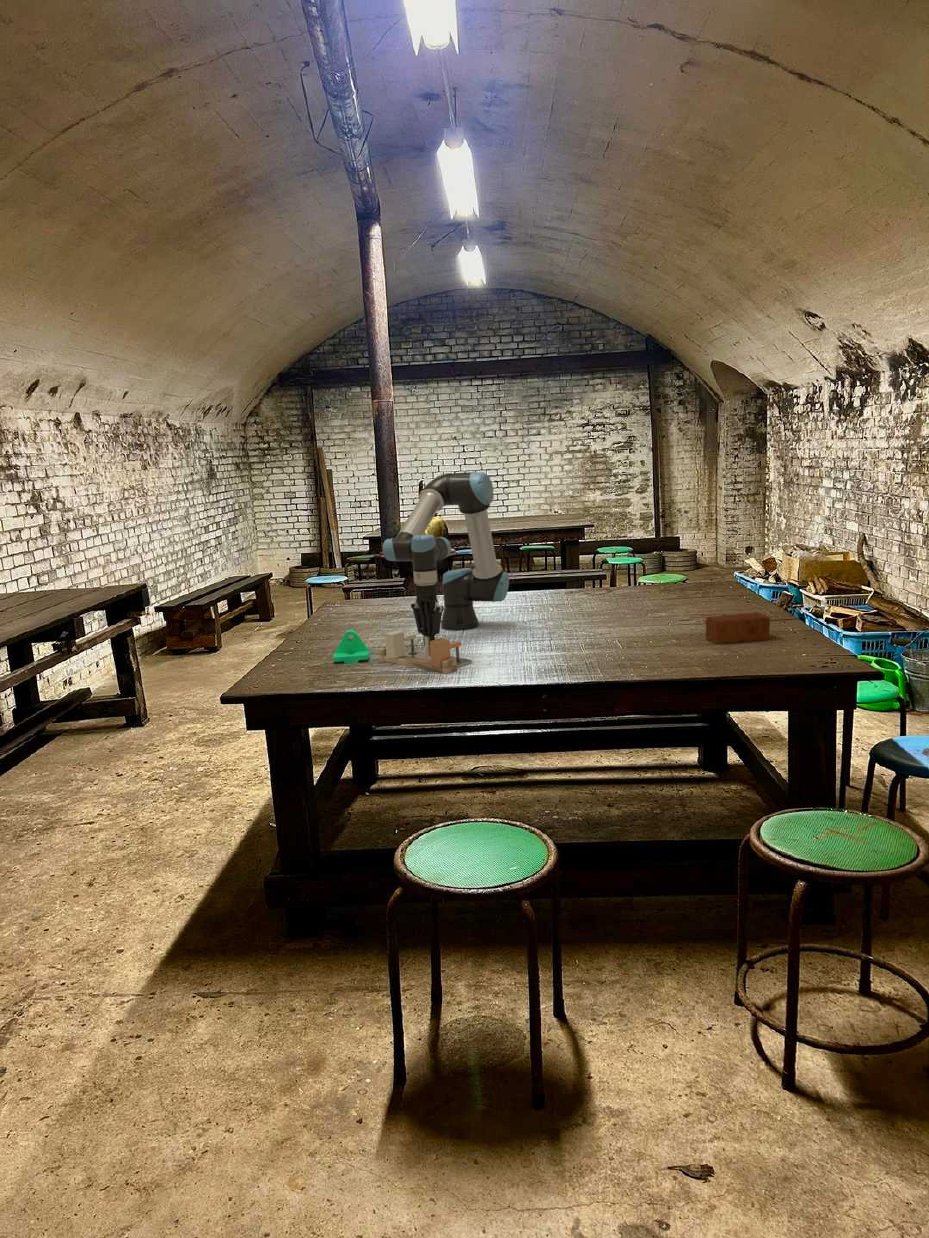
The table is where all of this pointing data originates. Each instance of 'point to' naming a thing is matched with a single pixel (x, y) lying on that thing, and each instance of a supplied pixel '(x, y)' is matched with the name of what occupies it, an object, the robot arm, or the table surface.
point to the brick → (737, 628)
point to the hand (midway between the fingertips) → (430, 655)
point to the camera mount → (351, 649)
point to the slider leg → (442, 651)
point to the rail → (420, 663)
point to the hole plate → (422, 656)
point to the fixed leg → (397, 643)
